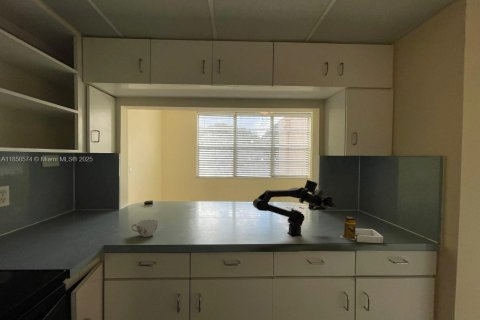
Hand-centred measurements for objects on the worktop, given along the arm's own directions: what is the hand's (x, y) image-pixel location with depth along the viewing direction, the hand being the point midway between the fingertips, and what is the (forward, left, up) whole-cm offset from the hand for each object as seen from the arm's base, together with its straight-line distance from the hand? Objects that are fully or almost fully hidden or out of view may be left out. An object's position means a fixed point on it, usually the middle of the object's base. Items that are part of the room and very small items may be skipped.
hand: (330, 208), depth 161 cm
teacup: (-111, +21, -15) cm, 114 cm away
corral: (+12, -16, -15) cm, 25 cm away
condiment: (+4, -12, -15) cm, 20 cm away
